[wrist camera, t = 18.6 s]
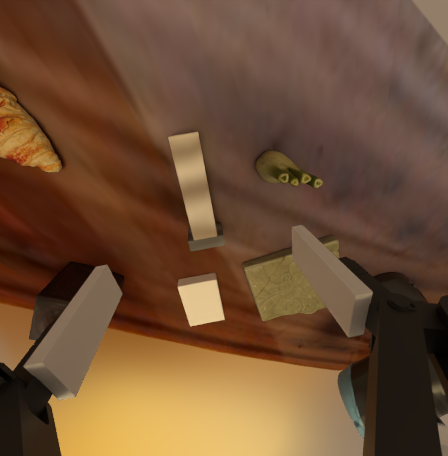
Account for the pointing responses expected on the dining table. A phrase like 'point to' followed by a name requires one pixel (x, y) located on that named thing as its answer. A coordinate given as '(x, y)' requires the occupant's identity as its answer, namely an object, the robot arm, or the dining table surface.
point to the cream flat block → (201, 299)
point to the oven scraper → (195, 191)
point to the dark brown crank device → (60, 295)
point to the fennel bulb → (283, 170)
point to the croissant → (24, 137)
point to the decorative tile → (283, 283)
